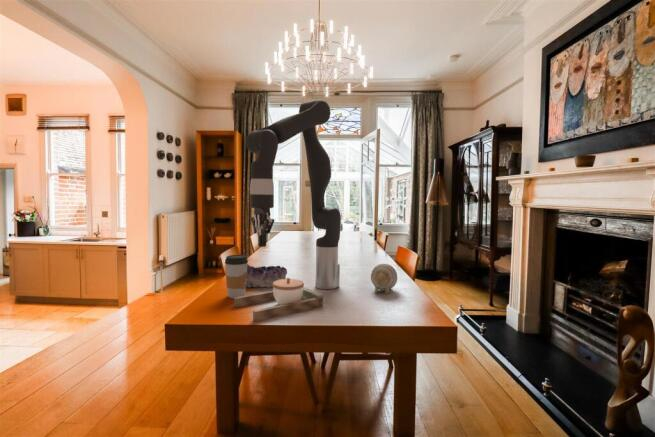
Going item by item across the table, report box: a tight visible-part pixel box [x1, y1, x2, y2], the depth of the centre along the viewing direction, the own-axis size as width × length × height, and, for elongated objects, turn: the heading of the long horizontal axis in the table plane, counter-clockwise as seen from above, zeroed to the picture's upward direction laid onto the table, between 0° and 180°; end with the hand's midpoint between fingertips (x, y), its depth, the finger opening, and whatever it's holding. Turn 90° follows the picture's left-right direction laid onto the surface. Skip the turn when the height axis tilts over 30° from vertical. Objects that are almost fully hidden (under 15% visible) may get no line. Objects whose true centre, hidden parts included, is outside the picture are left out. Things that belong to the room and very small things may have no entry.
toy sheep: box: [370, 263, 398, 295], centre depth 134 cm, size 11×17×11 cm, turn 165°
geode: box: [246, 263, 288, 289], centre depth 139 cm, size 20×12×10 cm, turn 101°
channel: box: [233, 286, 324, 322], centre depth 113 cm, size 25×17×4 cm
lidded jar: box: [272, 277, 305, 305], centre depth 115 cm, size 11×11×9 cm
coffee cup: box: [224, 254, 249, 299], centre depth 123 cm, size 8×8×15 cm
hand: (262, 246), depth 108 cm, fingers closed
